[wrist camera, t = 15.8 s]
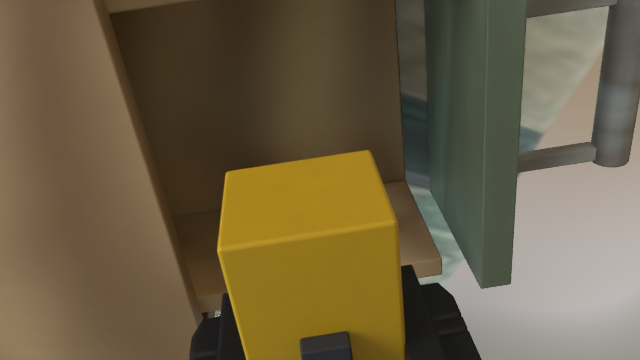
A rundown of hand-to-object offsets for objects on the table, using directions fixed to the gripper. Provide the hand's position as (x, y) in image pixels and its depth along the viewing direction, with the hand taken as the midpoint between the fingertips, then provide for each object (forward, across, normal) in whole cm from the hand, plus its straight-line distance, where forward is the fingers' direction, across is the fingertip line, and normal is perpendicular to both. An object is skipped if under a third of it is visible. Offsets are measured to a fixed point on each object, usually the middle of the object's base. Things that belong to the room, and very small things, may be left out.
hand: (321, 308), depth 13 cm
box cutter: (0, 0, 0) cm, 0 cm away
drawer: (+13, -2, -1) cm, 14 cm away
